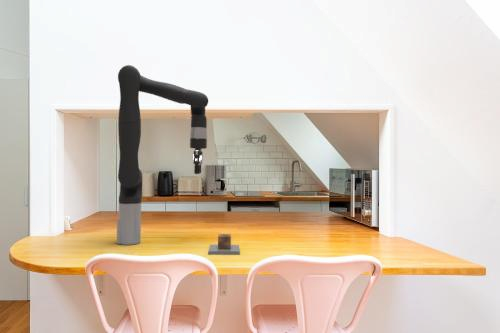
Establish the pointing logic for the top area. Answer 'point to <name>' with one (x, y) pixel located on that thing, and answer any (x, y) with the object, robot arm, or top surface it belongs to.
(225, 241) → the walnut cube
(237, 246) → the plate
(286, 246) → the top surface
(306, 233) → the top surface
